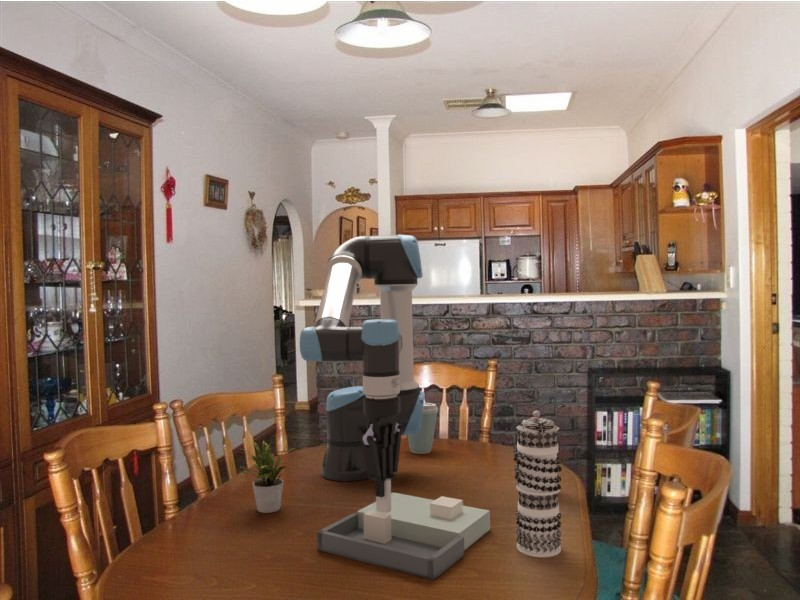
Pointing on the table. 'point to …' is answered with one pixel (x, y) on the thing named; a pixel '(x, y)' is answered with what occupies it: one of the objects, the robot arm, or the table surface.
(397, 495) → the board
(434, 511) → the tile
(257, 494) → the house plant
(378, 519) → the tile
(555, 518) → the black and white jar
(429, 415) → the disposable coffee cup
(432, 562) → the tray
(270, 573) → the table surface
